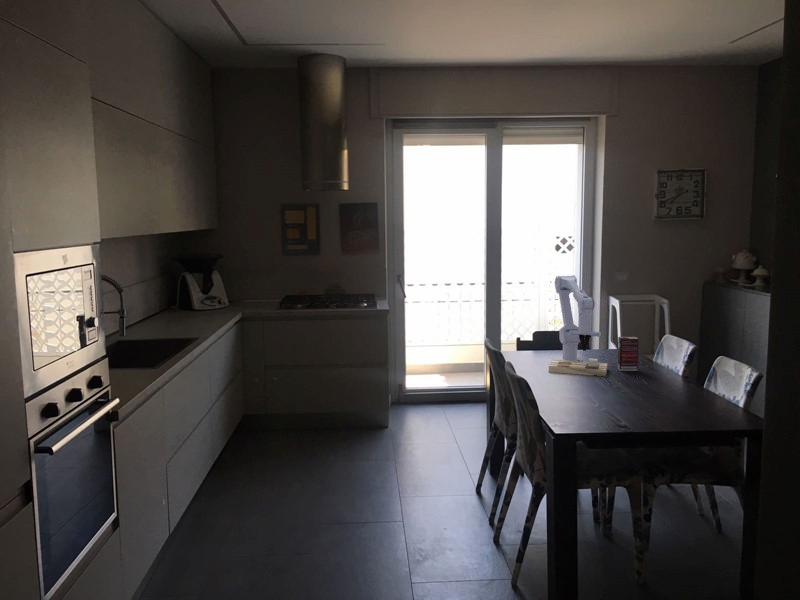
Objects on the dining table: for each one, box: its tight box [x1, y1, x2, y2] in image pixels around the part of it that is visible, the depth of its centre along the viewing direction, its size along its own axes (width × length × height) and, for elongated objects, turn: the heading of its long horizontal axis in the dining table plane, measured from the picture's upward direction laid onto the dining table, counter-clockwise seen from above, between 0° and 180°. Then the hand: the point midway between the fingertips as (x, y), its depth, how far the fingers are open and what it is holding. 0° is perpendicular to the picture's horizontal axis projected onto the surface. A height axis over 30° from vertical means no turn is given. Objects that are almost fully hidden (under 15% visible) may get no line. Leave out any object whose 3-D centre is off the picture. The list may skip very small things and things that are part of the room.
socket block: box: [548, 358, 609, 377], centre depth 306 cm, size 14×26×3 cm, turn 69°
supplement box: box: [617, 336, 639, 372], centre depth 306 cm, size 9×5×16 cm, turn 84°
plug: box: [587, 357, 598, 367], centre depth 304 cm, size 4×4×6 cm
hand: (584, 350), depth 309 cm, fingers closed
